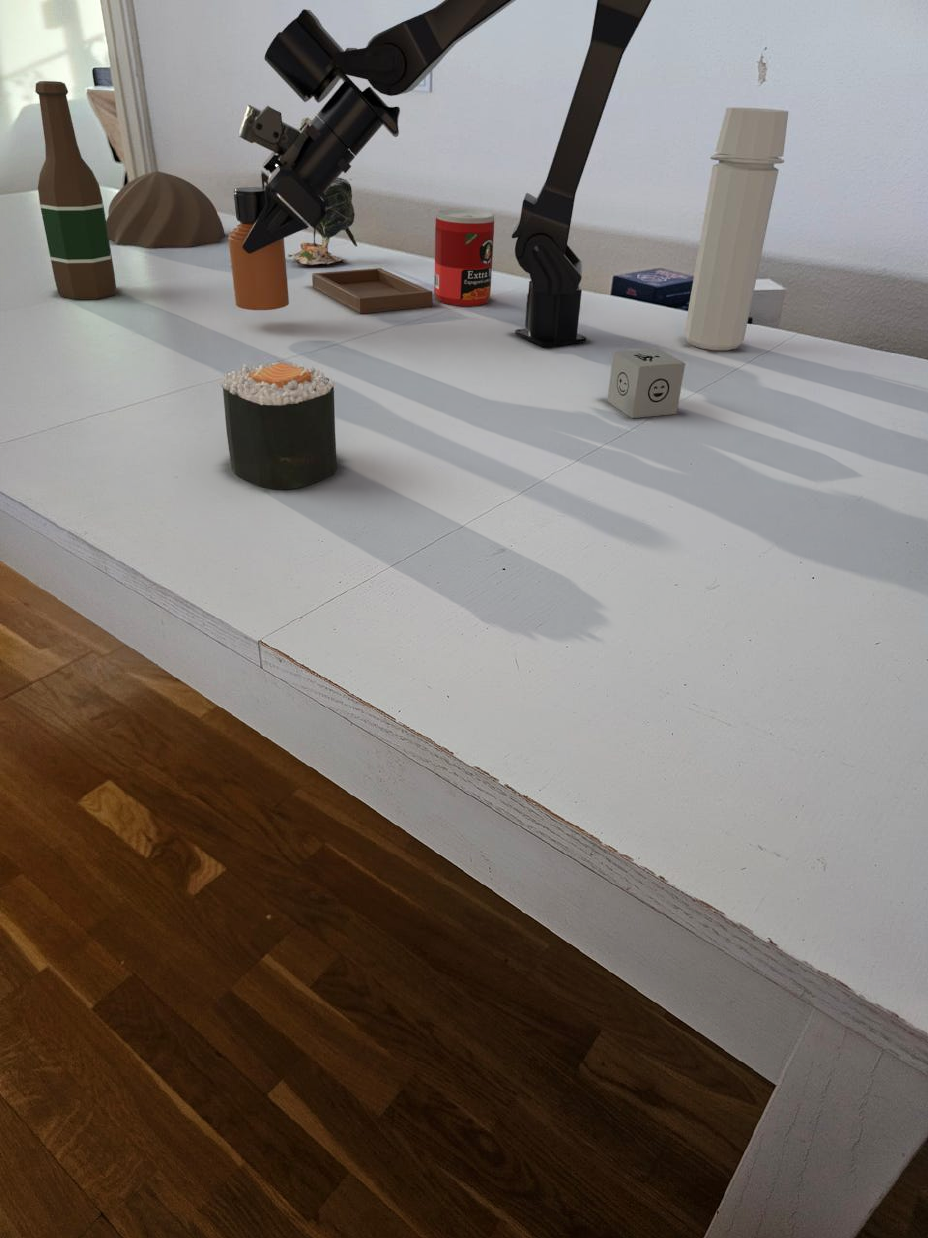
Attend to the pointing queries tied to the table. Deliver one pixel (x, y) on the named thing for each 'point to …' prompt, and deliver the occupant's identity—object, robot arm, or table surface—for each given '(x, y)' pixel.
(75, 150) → the beer bottle
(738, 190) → the water bottle
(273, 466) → the sushi
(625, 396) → the dice cube
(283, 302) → the bottle
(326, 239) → the plant with pod
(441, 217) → the canned food
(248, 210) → the cap
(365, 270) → the tray
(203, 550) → the table surface
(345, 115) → the robot arm
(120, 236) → the decorative dome
